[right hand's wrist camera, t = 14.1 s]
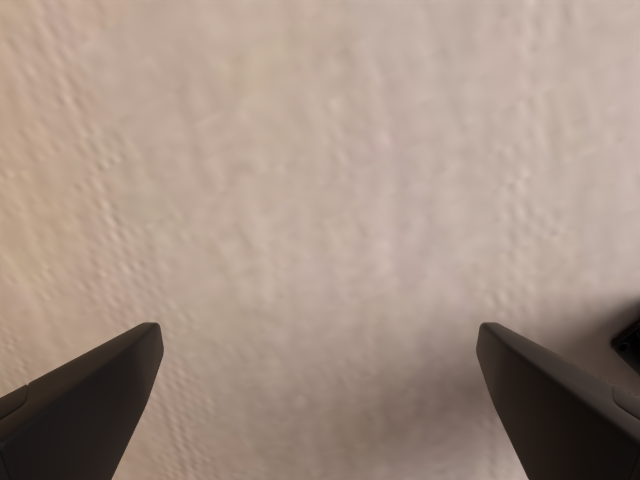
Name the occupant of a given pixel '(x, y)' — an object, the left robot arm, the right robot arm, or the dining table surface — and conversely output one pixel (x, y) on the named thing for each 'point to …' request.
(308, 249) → the dining table surface
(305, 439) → the dining table surface
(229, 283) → the dining table surface
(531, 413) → the right robot arm
